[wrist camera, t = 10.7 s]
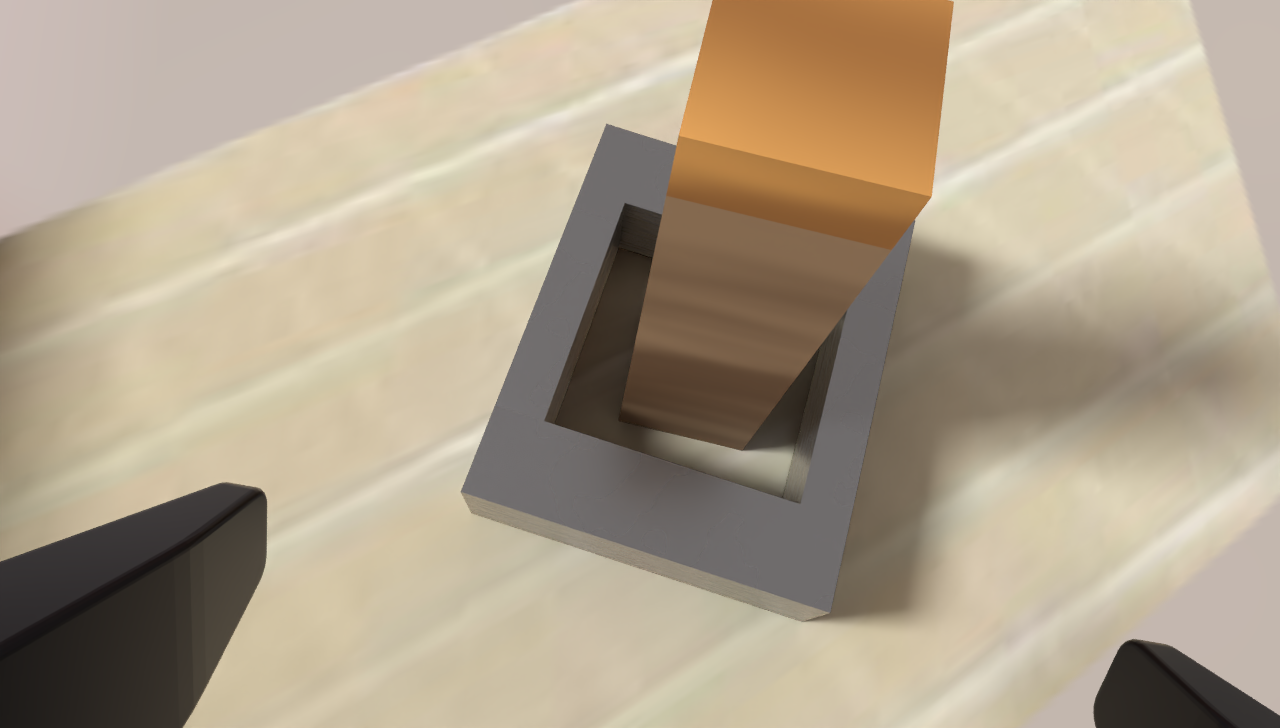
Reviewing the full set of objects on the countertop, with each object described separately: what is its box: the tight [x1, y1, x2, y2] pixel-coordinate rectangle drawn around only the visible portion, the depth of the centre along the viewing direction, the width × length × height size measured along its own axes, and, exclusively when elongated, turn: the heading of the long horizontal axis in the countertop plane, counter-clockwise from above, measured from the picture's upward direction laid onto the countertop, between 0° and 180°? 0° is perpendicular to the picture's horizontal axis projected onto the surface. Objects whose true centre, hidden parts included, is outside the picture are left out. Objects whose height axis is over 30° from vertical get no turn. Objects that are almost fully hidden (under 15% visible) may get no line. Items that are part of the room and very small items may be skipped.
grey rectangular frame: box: [461, 124, 915, 621], centre depth 23 cm, size 11×9×2 cm
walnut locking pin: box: [619, 0, 954, 450], centre depth 18 cm, size 4×4×13 cm
